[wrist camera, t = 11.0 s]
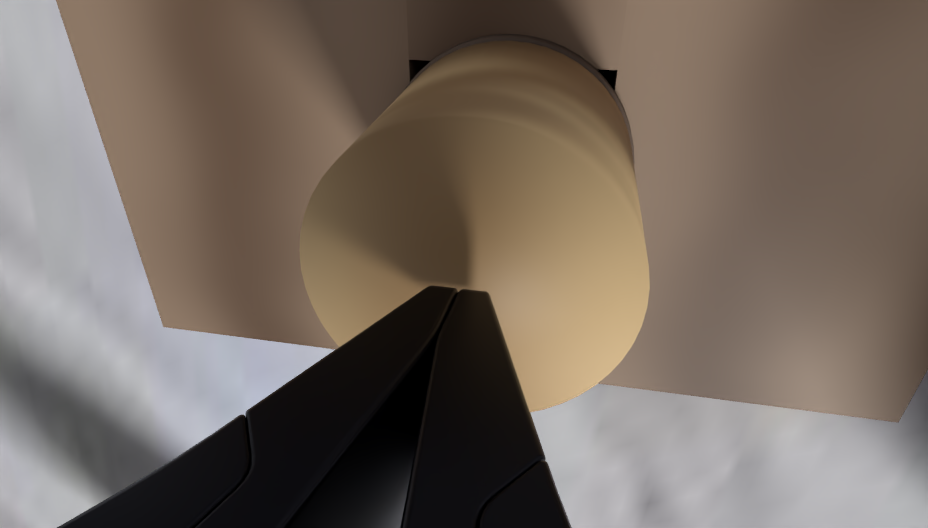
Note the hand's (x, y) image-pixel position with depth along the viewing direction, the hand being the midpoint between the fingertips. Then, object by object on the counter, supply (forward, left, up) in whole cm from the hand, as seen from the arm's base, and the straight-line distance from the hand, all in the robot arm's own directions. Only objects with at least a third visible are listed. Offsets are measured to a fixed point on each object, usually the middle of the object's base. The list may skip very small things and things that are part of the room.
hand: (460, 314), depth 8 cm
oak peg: (0, 0, -7) cm, 7 cm away
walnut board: (0, 0, -8) cm, 8 cm away
